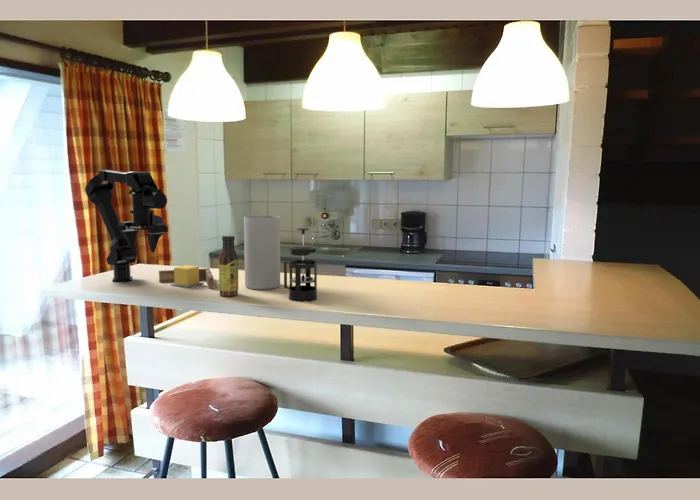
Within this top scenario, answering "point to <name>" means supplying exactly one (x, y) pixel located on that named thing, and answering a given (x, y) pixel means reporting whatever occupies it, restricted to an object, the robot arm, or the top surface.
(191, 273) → the ochre cube
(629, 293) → the top surface
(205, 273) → the corner arena
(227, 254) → the sauce bottle
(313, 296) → the french press
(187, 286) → the pad
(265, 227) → the cylinder vase
